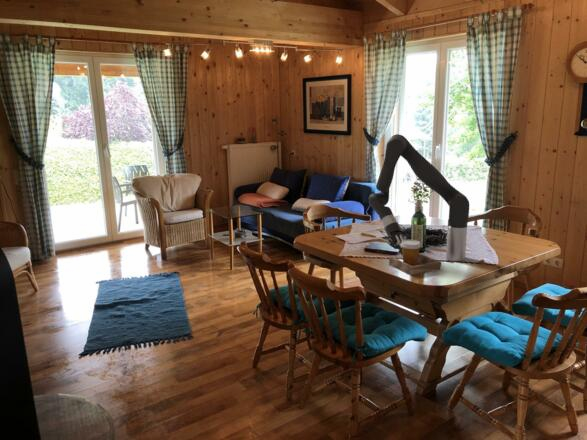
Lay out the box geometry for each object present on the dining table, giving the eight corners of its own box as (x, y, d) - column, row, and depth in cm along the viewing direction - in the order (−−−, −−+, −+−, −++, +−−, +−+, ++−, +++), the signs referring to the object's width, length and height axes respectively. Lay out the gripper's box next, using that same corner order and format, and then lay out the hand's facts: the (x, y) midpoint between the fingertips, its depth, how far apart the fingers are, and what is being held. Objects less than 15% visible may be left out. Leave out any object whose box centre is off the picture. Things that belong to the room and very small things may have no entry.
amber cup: (422, 264, 230) (423, 241, 227) (415, 270, 222) (416, 246, 219) (404, 261, 235) (405, 238, 232) (396, 266, 227) (397, 243, 225)
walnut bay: (389, 264, 230) (389, 257, 229) (416, 259, 237) (416, 252, 236) (411, 275, 215) (412, 267, 214) (440, 269, 222) (441, 261, 221)
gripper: (383, 223, 234) (397, 253, 226) (404, 220, 239) (419, 249, 231) (377, 231, 240) (390, 260, 232) (398, 227, 245) (412, 256, 237)
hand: (405, 255), depth 231 cm, fingers closed
